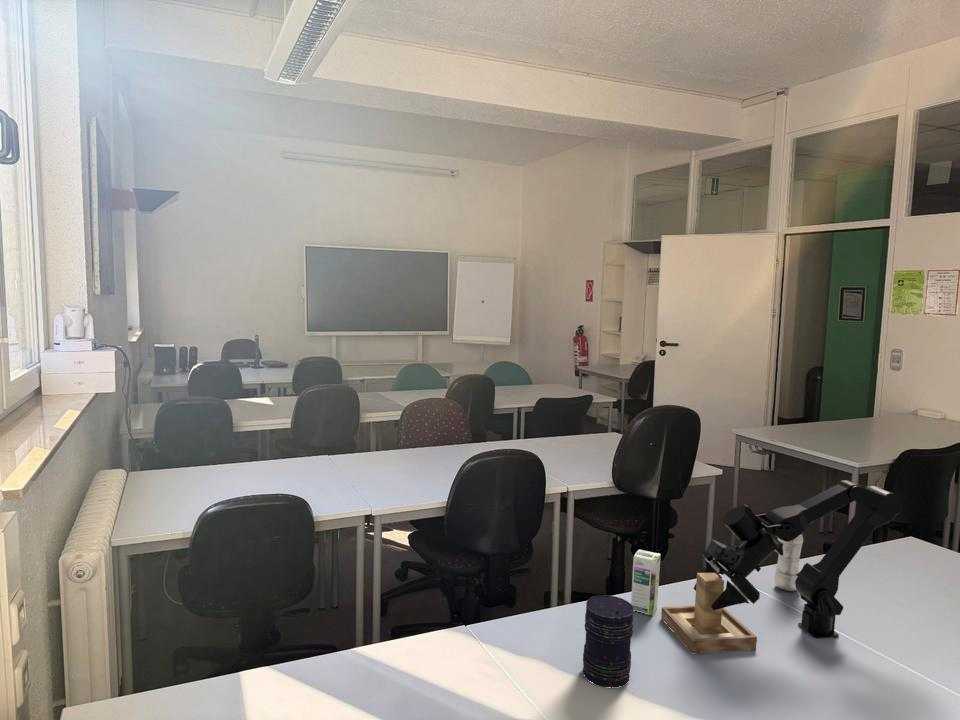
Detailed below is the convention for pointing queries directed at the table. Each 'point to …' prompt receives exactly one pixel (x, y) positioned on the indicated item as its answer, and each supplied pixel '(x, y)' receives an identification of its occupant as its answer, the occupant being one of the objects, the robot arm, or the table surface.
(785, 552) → the plastic bottle
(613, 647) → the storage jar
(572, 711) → the table surface
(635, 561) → the syrup box
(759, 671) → the table surface
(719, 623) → the peg
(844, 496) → the robot arm
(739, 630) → the socket box
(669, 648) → the table surface
